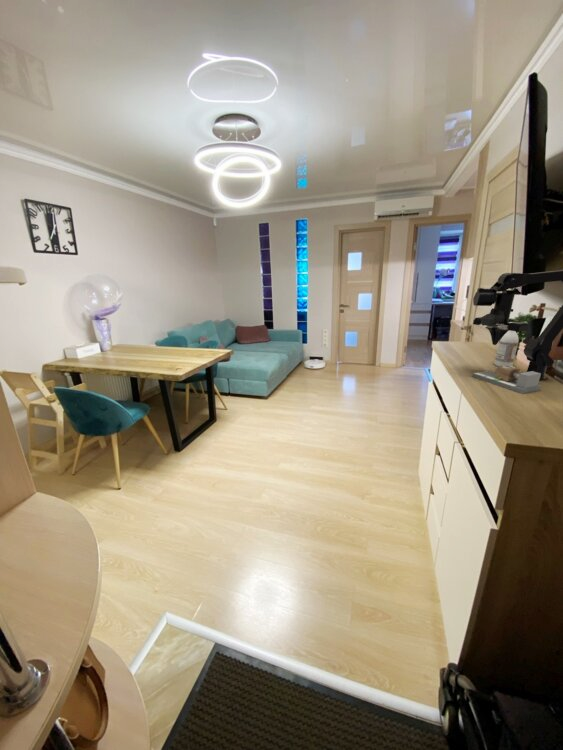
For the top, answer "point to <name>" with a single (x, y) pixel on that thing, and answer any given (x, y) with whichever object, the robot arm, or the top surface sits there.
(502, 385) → the gauge rail
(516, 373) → the gauge carriage
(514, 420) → the top surface
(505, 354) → the bath foam
